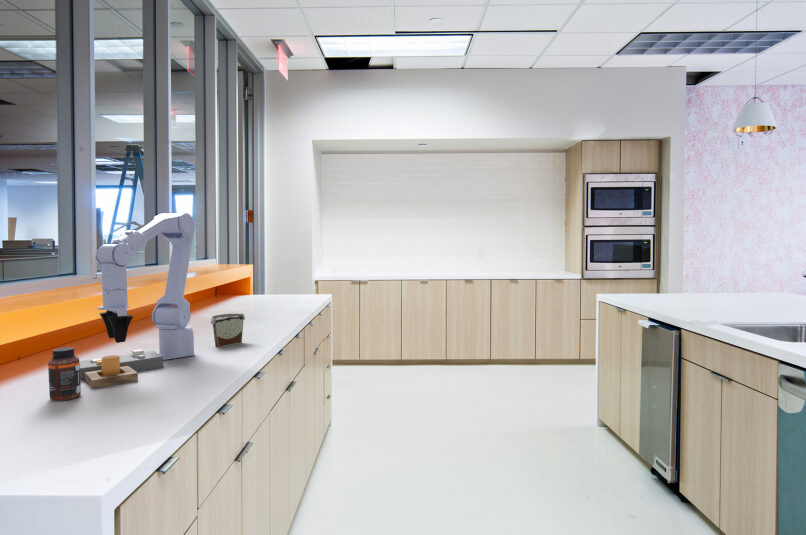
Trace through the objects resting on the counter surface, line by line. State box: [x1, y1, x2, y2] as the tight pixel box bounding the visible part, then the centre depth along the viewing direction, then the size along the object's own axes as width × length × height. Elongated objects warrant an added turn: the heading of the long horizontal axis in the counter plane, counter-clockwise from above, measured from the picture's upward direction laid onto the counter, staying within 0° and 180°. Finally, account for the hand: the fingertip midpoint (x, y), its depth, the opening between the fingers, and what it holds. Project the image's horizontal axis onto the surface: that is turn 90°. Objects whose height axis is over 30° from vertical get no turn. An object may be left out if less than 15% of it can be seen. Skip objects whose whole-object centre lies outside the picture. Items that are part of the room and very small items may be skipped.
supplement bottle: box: [47, 346, 82, 402], centre depth 114 cm, size 6×6×11 cm
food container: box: [210, 313, 246, 349], centre depth 172 cm, size 12×6×10 cm, turn 145°
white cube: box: [91, 357, 102, 363], centre depth 136 cm, size 2×2×2 cm
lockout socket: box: [84, 366, 139, 389], centre depth 128 cm, size 10×10×2 cm
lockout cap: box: [101, 354, 121, 377], centre depth 128 cm, size 4×4×6 cm
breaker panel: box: [79, 350, 164, 381], centre depth 138 cm, size 20×9×4 cm, turn 131°
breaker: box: [131, 348, 145, 358], centre depth 142 cm, size 2×2×2 cm
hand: (116, 339), depth 134 cm, fingers open, 7 cm apart
